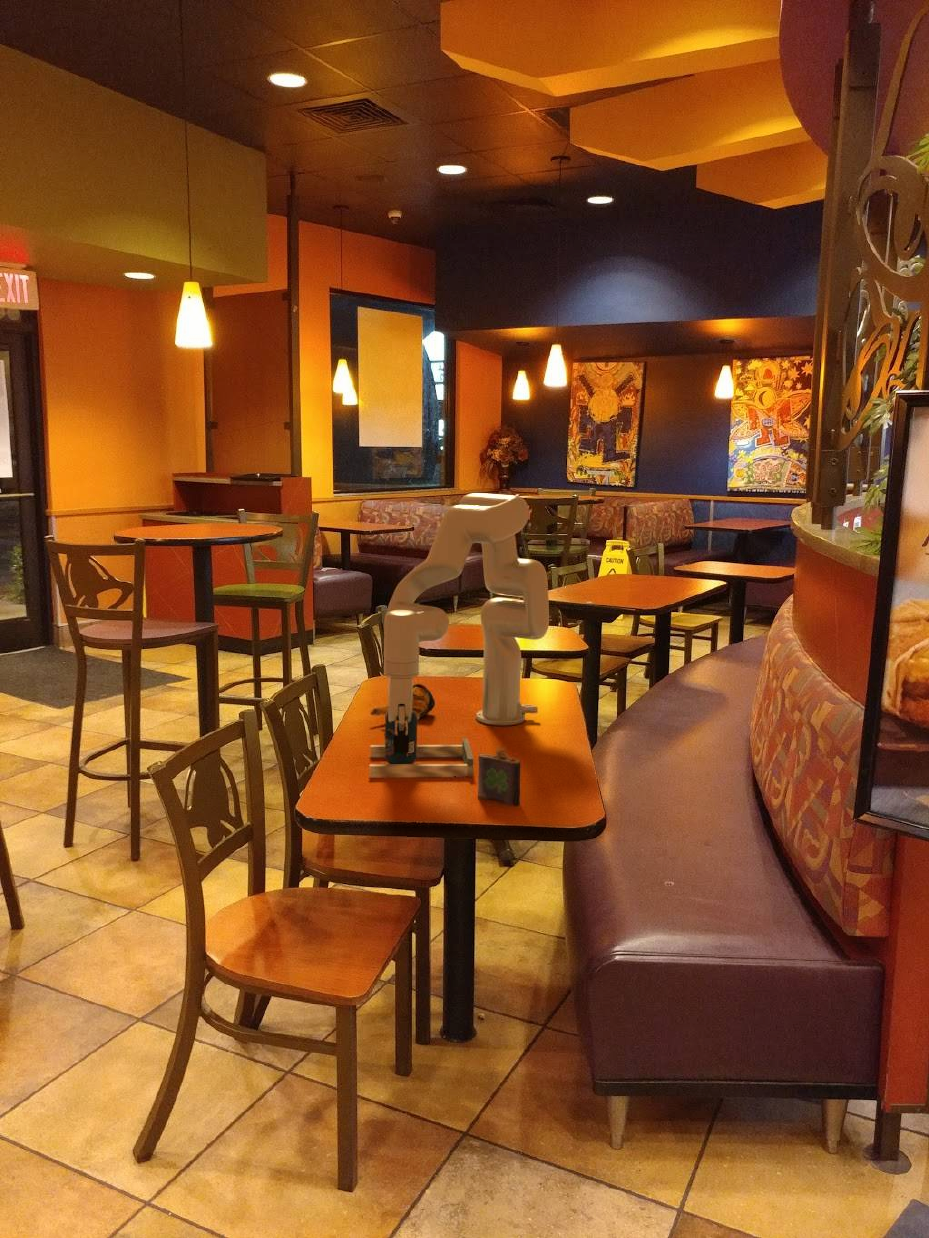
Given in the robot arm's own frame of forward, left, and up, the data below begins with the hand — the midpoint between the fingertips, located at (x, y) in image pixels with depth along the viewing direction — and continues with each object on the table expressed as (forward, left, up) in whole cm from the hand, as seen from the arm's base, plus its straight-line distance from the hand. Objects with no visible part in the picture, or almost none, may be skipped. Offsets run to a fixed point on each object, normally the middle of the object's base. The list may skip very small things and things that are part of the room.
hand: (401, 746), depth 213 cm
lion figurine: (0, -21, -5) cm, 22 cm away
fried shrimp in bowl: (-1, -37, -5) cm, 37 cm away
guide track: (-4, 0, -4) cm, 6 cm away
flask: (-19, +21, -5) cm, 29 cm away
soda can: (0, 0, -4) cm, 4 cm away
